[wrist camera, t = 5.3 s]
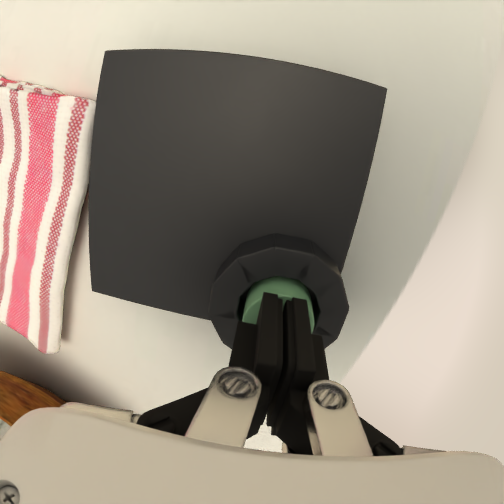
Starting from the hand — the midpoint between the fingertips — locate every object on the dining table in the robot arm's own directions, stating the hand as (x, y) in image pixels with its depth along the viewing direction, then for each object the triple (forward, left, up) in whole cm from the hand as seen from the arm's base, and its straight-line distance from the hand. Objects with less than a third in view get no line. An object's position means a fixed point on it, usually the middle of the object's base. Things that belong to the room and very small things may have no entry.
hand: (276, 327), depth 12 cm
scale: (+3, -4, -4) cm, 7 cm away
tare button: (0, 0, -2) cm, 2 cm away
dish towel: (+22, -2, -5) cm, 23 cm away
